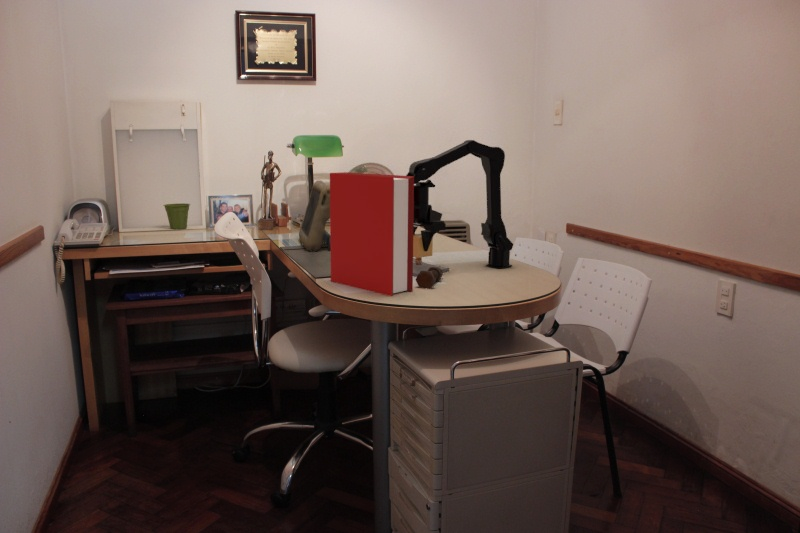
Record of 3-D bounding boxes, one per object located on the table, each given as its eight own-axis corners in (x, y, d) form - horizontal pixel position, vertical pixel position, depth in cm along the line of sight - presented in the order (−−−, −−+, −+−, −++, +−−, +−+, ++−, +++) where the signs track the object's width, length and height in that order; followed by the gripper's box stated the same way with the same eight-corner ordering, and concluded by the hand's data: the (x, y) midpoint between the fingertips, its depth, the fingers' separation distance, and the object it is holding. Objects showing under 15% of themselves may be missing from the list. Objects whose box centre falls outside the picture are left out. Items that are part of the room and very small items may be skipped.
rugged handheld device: (292, 239, 272) (291, 180, 267) (325, 238, 276) (324, 179, 271) (306, 252, 242) (305, 185, 237) (343, 250, 246) (342, 184, 241)
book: (412, 291, 181) (414, 176, 175) (392, 296, 175) (393, 177, 169) (348, 276, 199) (347, 172, 193) (327, 280, 194) (326, 173, 188)
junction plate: (448, 271, 209) (449, 256, 208) (417, 276, 200) (417, 261, 199) (419, 264, 220) (419, 250, 219) (388, 269, 210) (388, 254, 209)
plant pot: (184, 226, 310) (183, 202, 308) (195, 228, 301) (194, 204, 299) (160, 228, 302) (159, 204, 300) (171, 231, 294) (169, 206, 291)
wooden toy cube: (432, 255, 209) (432, 235, 207) (418, 257, 205) (418, 237, 203) (419, 253, 213) (419, 233, 212) (405, 255, 209) (405, 235, 208)
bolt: (439, 284, 199) (427, 293, 185) (426, 275, 200) (412, 283, 186) (449, 268, 197) (437, 276, 183) (436, 259, 198) (422, 267, 184)
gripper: (458, 202, 204) (457, 251, 207) (418, 198, 218) (417, 243, 221) (433, 204, 197) (432, 254, 200) (393, 200, 210) (392, 247, 213)
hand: (418, 249), depth 209 cm, fingers closed on wooden toy cube, 6 cm apart
